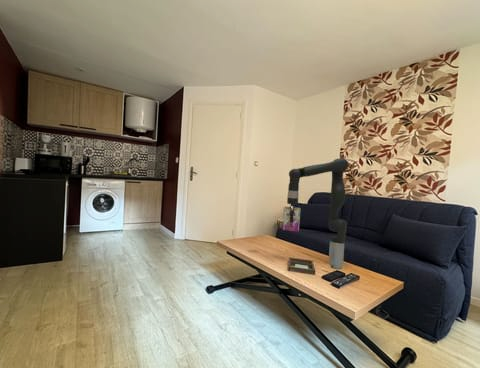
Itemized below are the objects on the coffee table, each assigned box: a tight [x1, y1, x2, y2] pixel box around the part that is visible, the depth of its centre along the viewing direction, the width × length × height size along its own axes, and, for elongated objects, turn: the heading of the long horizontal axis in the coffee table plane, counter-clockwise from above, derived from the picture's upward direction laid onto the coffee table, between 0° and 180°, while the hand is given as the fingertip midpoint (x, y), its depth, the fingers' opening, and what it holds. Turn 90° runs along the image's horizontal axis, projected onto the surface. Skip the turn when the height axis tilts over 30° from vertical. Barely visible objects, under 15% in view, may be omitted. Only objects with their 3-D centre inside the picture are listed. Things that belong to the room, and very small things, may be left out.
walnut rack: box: [287, 257, 316, 276], centre depth 149 cm, size 19×16×4 cm
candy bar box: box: [281, 206, 301, 233], centre depth 160 cm, size 11×5×16 cm, turn 68°
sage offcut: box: [294, 264, 309, 269], centre depth 145 cm, size 6×8×2 cm
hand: (291, 221), depth 160 cm, fingers closed on candy bar box, 5 cm apart
